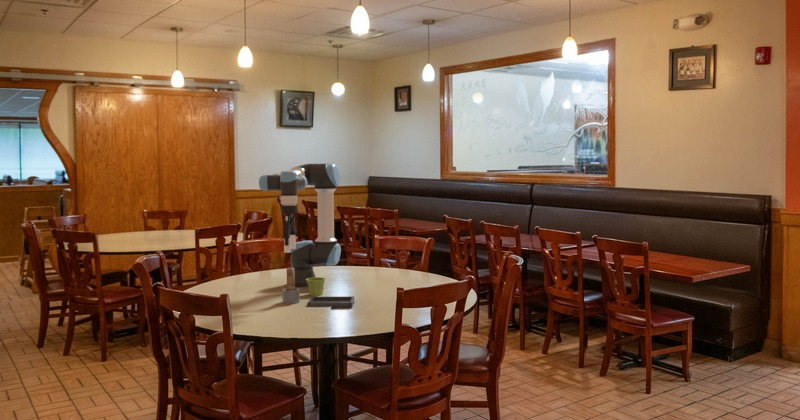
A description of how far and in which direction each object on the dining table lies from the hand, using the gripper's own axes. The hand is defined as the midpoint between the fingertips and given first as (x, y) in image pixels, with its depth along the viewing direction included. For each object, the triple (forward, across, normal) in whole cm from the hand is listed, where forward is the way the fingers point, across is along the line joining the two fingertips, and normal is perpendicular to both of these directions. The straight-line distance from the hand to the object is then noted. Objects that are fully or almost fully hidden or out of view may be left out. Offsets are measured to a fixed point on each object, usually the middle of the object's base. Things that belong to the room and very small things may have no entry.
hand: (290, 250), depth 312 cm
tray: (+25, +2, +19) cm, 32 cm away
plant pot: (+25, -18, +9) cm, 32 cm away
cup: (+25, 0, 0) cm, 25 cm away
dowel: (+24, 0, 0) cm, 24 cm away
